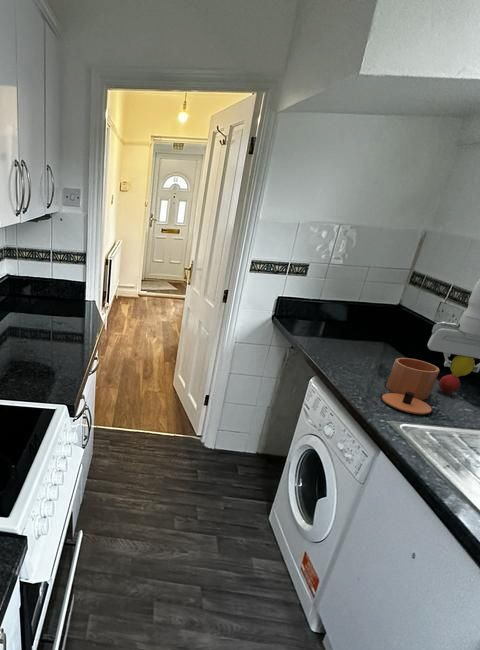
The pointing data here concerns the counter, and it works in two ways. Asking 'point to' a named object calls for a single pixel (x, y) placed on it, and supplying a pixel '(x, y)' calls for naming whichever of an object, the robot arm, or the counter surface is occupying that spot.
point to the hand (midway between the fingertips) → (460, 368)
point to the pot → (412, 377)
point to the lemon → (462, 365)
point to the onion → (449, 383)
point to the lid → (406, 403)
